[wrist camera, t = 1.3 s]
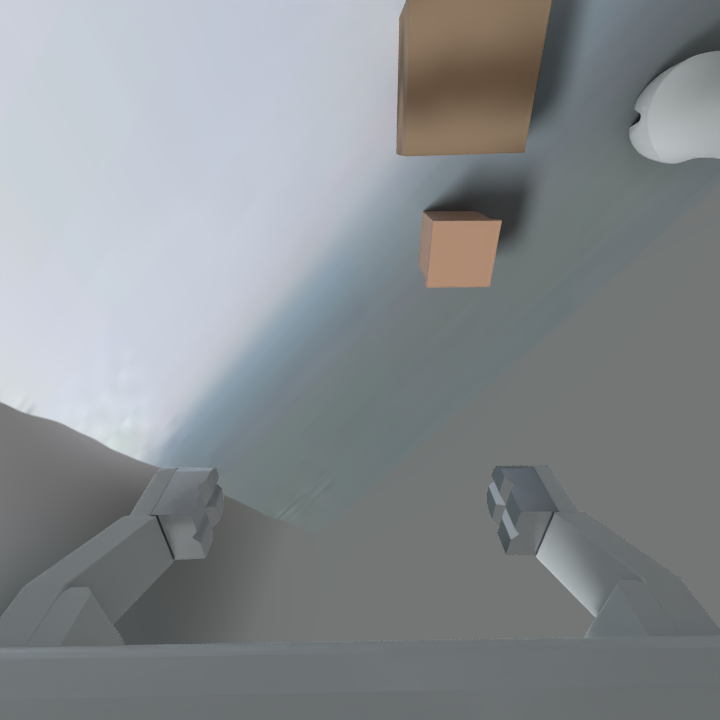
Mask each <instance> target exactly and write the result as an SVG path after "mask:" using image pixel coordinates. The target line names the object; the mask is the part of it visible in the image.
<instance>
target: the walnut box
mask: <svg viewBox="0 0 720 720" xmlns="http://www.w3.org/2000/svg"><path fill="white" fill-rule="evenodd" d="M551 3H552V0H406V3H405V5H404V8H403V10H402V12H401V15H400V17H399V59H398V103H397V148H396V154H399V155H402V156H428V155H460V154H493V153H524V152H525V147H526V141H527V135H528V130H529V124H530V119H531V113H532V108H533V102H534V97H535V91H536V86H537V80H538V75H539V69H540V64H541V58H542V53H543V47H544V41H545V36H546V30H547V25H548V19H549V14H550V8H551Z"/></svg>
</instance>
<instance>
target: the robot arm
mask: <svg viewBox="0 0 720 720" xmlns="http://www.w3.org/2000/svg"><path fill="white" fill-rule="evenodd" d="M492 477H493V480H494V482H493V483H492V484H491V485H490V486H489V488H488V492H487V504H488V509H489V512H490V515H491V518H492V519H493V520H494V521H495V522H496V523H497V524H498V525H500V526H499V529H498V532H497V533H498V536H499V538H500V541H501V544H502V546H503V549H504V551H505V554H506V555H537V556H536V557H537V558H538V559H539V560H540V561H541V562H542V563H543V564H544V566H546V567H547V569H548V570H549V571H550V572H551V573H552V574H553V575H554V576H556V578H557V579H558V580H559V581H560V582H561V583H562V584H563V585H564V586H565V587H566V588H567V589H568V590H569V591H570V592H571V593H572V594H573V595H574V596H575V597H576V598H577V599H578V600H579V601H580V602H581V603H582V604H583V605H584V606H585V607H586V608H587V609H588V610H589V611H590V612H591V613H592V614H593V615H594V616H595V617H596V618H595V620H594V621H593V623H592V625H591V626H590V628H589V629H588V631H587V633H586V635H585V637H583V638H528V639H527V638H526V639H467V640H406V641H349V642H292V643H234V644H181V645H180V644H178V645H125V646H124V643H123V640H122V638H121V637H120V635H119V633H118V632H117V630H116V629H115V627H114V626H113V624H114V623H115V622H116V621H117V620H118V619H119V618H120V617H121V616H122V614H124V613H125V612H126V610H128V609H129V608H130V607H131V606H132V604H133V603H134V602H135V601H136V600H137V599H138V598H139V597H140V596H141V595H142V594H143V593H144V592H145V591H146V590H147V589H148V588H149V587H150V586H151V585H152V584H153V583H154V582H155V580H157V578H158V577H159V576H160V575H161V574H162V573H163V572H164V571H165V570H166V569H167V568H168V567H169V566H170V565H171V564H172V563H173V562H174V560H176V559H198V558H199V559H201V558H206V555H207V552H208V550H209V547H210V544H211V542H212V539H213V532H212V529H211V528H212V527H213V526H214V525H215V524H217V523H218V522H219V519H220V516H221V513H222V508H223V491H222V488H221V487H220V486H219V485H217V481H218V479H219V475H218V472H217V469H215V468H161V469H160V470H158V471H157V472H156V474H155V475H154V477H153V479H152V480H151V482H150V483H149V485H148V487H147V488H146V490H145V492H144V493H143V495H142V496H141V498H140V500H139V502H138V503H137V504H136V506H135V508H134V509H133V511H132V513H131V514H130V516H123V517H122V518H121V519H119V520H118V521H116V522H115V523H114V524H112V525H111V526H109V527H108V528H106V529H105V530H104V531H102V532H101V533H99V534H98V535H96V536H95V537H94V538H92V539H91V540H89V541H88V542H86V543H85V544H84V545H82V546H81V547H79V548H78V549H76V550H75V551H74V552H72V553H71V554H69V555H68V556H66V557H65V558H64V559H62V560H61V561H59V562H58V563H57V564H55V565H54V566H53V567H51V568H49V569H48V570H46V571H45V572H44V573H42V574H41V575H39V576H38V577H37V578H35V579H34V580H32V581H31V582H29V583H28V584H27V585H25V586H24V587H23V589H22V590H21V591H20V593H19V594H18V595H17V596H16V598H15V599H14V600H13V602H12V603H11V604H10V606H9V607H8V608H7V610H6V611H5V612H4V614H3V615H2V616H1V617H0V720H720V629H719V627H718V626H717V625H716V623H715V622H714V621H713V620H712V618H711V617H710V616H709V614H708V613H707V612H706V611H705V609H704V608H703V607H702V605H701V604H700V603H699V601H698V600H697V599H696V598H695V596H694V595H693V594H692V592H691V591H690V590H689V589H688V587H687V586H686V585H685V583H684V582H683V581H682V580H681V578H680V577H678V576H677V575H675V574H674V573H672V572H671V571H670V570H668V569H667V568H665V567H664V566H662V565H661V564H659V563H658V562H656V561H655V560H653V559H652V558H650V557H649V556H648V555H646V554H645V553H643V552H642V551H640V550H639V549H637V548H636V547H634V546H633V545H632V544H630V543H629V542H627V541H626V540H625V539H623V538H622V537H620V536H619V535H617V534H616V533H614V532H613V531H611V530H610V529H609V528H607V527H606V526H604V525H603V524H601V523H600V522H598V521H597V520H595V519H594V518H593V517H591V516H589V515H588V514H587V513H585V512H579V511H578V509H577V508H576V506H575V504H574V503H573V501H572V500H571V498H570V497H569V495H568V494H567V492H566V491H565V489H564V487H563V486H562V484H561V483H560V481H559V480H558V478H557V477H556V475H555V474H554V472H553V470H552V469H551V468H550V467H549V466H547V465H542V466H496V467H495V468H494V469H493V473H492Z"/></svg>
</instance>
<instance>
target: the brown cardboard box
mask: <svg viewBox="0 0 720 720" xmlns="http://www.w3.org/2000/svg"><path fill="white" fill-rule="evenodd" d="M501 223H502V221H501V220H500V219H490V218H488V217H487V216H485V215H483V214H481V213H479V212H478V211H423V215H422V227H421V239H420V251H419V263H418V265H419V267H420V269H421V271H422V273H423V274H424V276H425V278H426V283H425V285H426V286H427V287H489V286H490V280H491V275H492V270H493V265H494V260H495V254H496V249H497V244H498V239H499V233H500V228H501Z"/></svg>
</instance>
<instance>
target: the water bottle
mask: <svg viewBox="0 0 720 720" xmlns="http://www.w3.org/2000/svg"><path fill="white" fill-rule="evenodd" d="M634 109H635V110H636V111H637V112H639V113H640V115H641V118H640V120H639V122H638V123H636V124H635V125H633V126H631V127H630V129H629V138H630V141H631V143H632V145H633V146H634V148H635V149H636V150H637V151H638V152H639V153H640V154H641V155H643V156H645V157H647V158H649V159H652V160H655V161H658V162H662V163H680V162H684V161H686V160H689V159H693V158H717V159H720V51H711V52H706V53H702V54H698V55H695V56H693V57H691V58H688V59H686V60H684V61H682V62H680V63H678V64H677V65H675V66H673V67H671V68H669V69H668V70H666V71H664V72H663V73H661V74H660V75H659V76H657V77H656V78H655V79H654V80H653V81H652V82H651V83H650V84H649V85H648V86H647V87H646V88H645V89H644V90H643V92H642V93H641V94H640V96H639V97H638V99H637V101H636V104H635V107H634Z"/></svg>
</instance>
